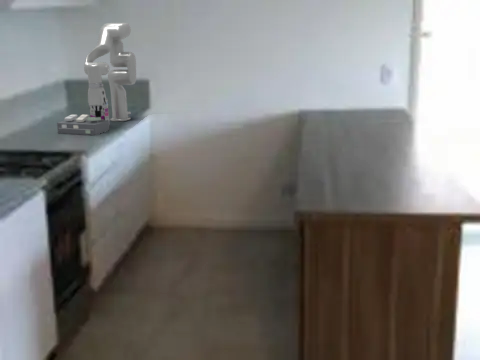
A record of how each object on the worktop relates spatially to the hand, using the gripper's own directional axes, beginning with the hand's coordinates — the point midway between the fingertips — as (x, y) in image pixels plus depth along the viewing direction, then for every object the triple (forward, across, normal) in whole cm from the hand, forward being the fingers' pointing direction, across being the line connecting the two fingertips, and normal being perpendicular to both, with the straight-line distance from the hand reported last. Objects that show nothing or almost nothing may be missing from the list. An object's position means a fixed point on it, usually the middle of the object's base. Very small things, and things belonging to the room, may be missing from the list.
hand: (98, 117), depth 407 cm
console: (+8, +8, +4) cm, 12 cm away
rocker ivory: (0, +8, +4) cm, 9 cm away
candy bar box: (+9, +9, -15) cm, 19 cm away
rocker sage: (0, 0, +4) cm, 4 cm away
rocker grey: (0, +16, +4) cm, 17 cm away
